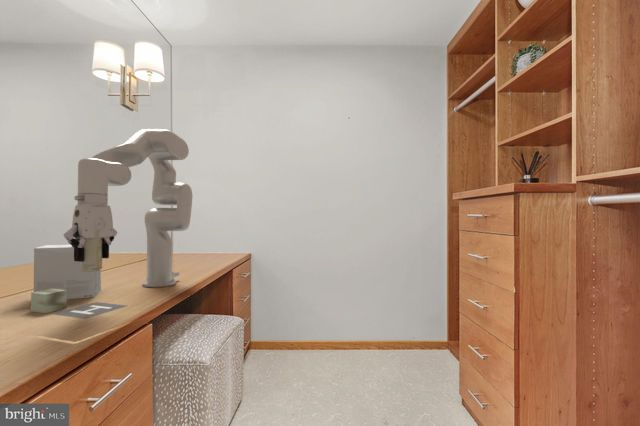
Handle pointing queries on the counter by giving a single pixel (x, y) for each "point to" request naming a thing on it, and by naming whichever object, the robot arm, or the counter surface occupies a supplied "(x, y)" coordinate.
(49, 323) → the counter surface
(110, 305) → the letter card
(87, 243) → the skincare box
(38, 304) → the sage block
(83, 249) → the robot arm
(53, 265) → the supplement box
